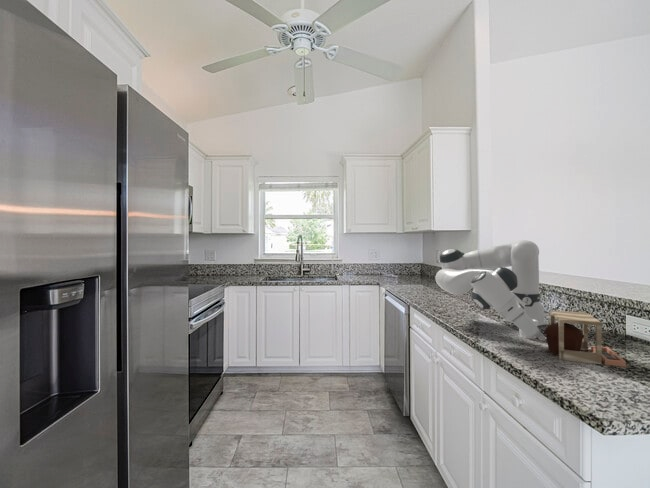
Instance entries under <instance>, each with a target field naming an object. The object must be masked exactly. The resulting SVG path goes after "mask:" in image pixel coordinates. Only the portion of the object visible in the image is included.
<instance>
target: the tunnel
mask: <svg viewBox="0 0 650 488" xmlns="http://www.w3.org/2000/svg"><path fill="white" fill-rule="evenodd" d="M549 313H550V315H549V319H550V320H549V325H551V324H553V323H556V320H557V323H559V355H558V359H559V360H561V361H568V362H569V361H570V362H577V363H578V362H579V363H586V364H596V365H597V364H598V365H602V363H603V362H602V347H603V345H602V338H603V337H602V326H603V325H602V324H603V323H602V321H600V320H599V319H597V318H596V317H594V316H592V315H591V314H589V313H588V312H581V311H579V312H578V311H565V310H551V309H550V310H549ZM564 323H568V324H572V325H574V324H576V325H582V333H583V335H584V338H583V340H582V345H581V350H580V351H571V350H564ZM591 325H592V326H595V346H596V353H593V352H592V351H589V326H591Z"/></svg>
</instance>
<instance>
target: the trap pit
mask: <svg viewBox="0 0 650 488" xmlns="http://www.w3.org/2000/svg"><path fill="white" fill-rule="evenodd" d="M590 352H591V353H596V345H590ZM602 363H603V364H605V366H607V365H608V366H615V367H624V368H625V367H626V368H627V361H625V360H624V359H623V358H622V357H621V356H619V355H618V353H616V352H615V351H613V350H612V349H611V348H610V347H608V346H607V347H606V346H602Z"/></svg>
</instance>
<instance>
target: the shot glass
mask: <svg viewBox="0 0 650 488" xmlns="http://www.w3.org/2000/svg"><path fill="white" fill-rule="evenodd" d="M532 320H533V321H534V323H535V324H536V326H537V324H538V321H537V320H535V319H532ZM537 327H538V326H537ZM518 329H519V328H518ZM518 331H519V337H520V338H523V339H529V340H534V339H537V337H536V336H534V337H533V338H531V337H530V336H528V335H527V334H525V333H524V332H523V331H522V330H521V329H519V330H518Z"/></svg>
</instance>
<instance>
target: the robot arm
mask: <svg viewBox="0 0 650 488" xmlns="http://www.w3.org/2000/svg"><path fill="white" fill-rule="evenodd" d="M539 255H540V249H539V246H538V245H537V244H536V243H535V242H533V241H531V240H523V239H522V240H519V241H516V242H511V243H505V244H501V245H500V244H499V245H494V246H489V247H485V248H480V249H475V250H472V251H468V252H467V253H464V252H463V251H462V252H461V251H460V250H459V249H456V248H450V249H446V250H444V251H443V252H441V253H440V254H439V262H440V264H441V269H439V271H437V272H436V273H435V276H434V279H435V280H434V281H435V282H436V284H437V285H438V287H440V288H441V289H442V290H443V291H445V292H447V293H449V294H452V295H457V296H459V295H464V294H466V293H468V292H469V291H470V290H472V291H471V292H470V293H471V294H470V295H471V296H470V297H471V301H472V302H473V303H475V305H476V306H478V307H479V308H480V310H491V309H492V308H493V309H494V310H495V311H496V312H497V313H498V314H499V316H501V318H503V320H502V321H503V322H507V323H511V324H514V325H515V326H516V327H517V328H518V329H521V330H522V331H523V332H524V333H525V334H527V335H528V336H530V337H531V338H533V337H534V336H536V339H537V338H538V340H539V341H541V342H543V341H545V340H547V337H546V335H544V333H542V332H541V331H540V329H539V326H544V325H545V326H546V325H547V326H549V325H550V321H547V320H545V306H544V305H543V304H542V303H541V293H540V267H539V265H540V264H539ZM509 267H511V268H509ZM532 319H535V320H537V321H538V324H537V326H536V324H535V323H534V321H533V320H532Z"/></svg>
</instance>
